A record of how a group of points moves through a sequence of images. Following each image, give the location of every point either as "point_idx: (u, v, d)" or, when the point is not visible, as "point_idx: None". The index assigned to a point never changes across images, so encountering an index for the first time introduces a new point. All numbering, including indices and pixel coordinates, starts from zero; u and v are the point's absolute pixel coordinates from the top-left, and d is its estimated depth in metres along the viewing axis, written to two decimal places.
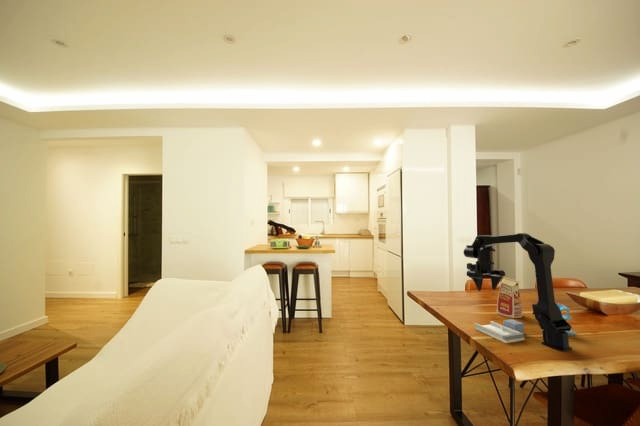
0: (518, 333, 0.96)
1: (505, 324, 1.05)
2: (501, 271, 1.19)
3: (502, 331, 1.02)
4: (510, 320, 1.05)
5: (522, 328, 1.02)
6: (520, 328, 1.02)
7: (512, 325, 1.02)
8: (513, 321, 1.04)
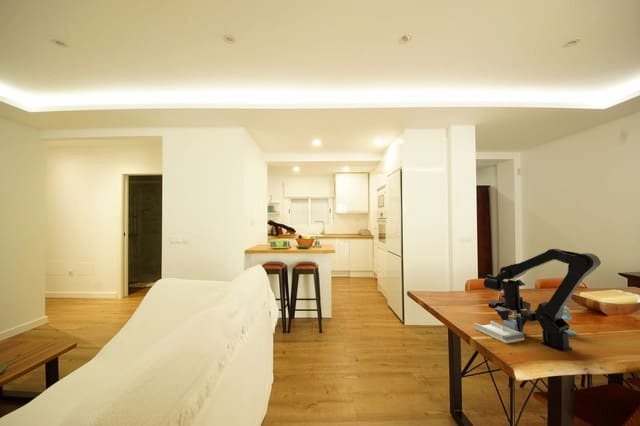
0: (518, 333, 0.96)
1: (505, 324, 1.05)
2: (525, 313, 0.97)
3: (502, 331, 1.02)
4: (510, 320, 1.05)
5: None
6: None
7: (512, 325, 1.02)
8: (513, 321, 1.04)
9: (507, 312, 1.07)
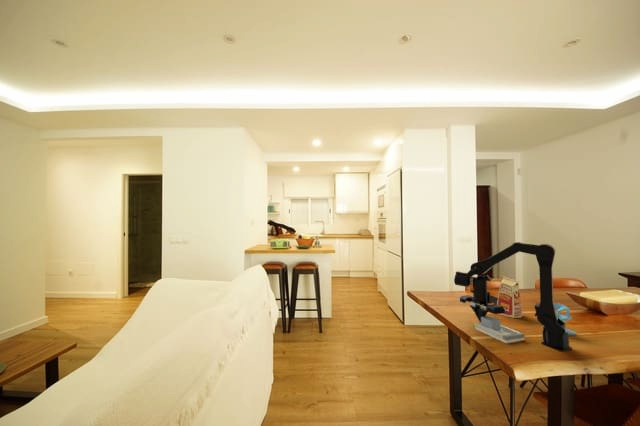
0: (518, 333, 0.96)
1: (482, 321, 1.06)
2: (490, 307, 1.02)
3: (502, 331, 1.02)
4: (488, 317, 1.06)
5: (499, 325, 1.03)
6: (497, 325, 1.03)
7: (489, 322, 1.03)
8: (490, 318, 1.05)
9: None
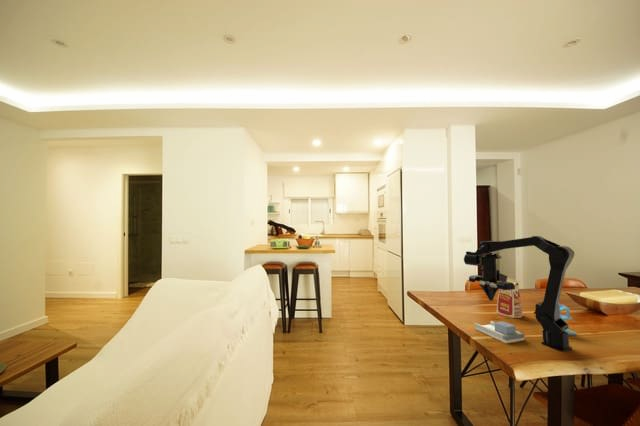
0: (518, 333, 0.96)
1: (496, 327, 0.99)
2: (500, 283, 1.03)
3: None
4: (501, 322, 1.00)
5: (514, 331, 0.96)
6: (512, 331, 0.96)
7: (503, 328, 0.97)
8: (505, 323, 0.99)
9: None
